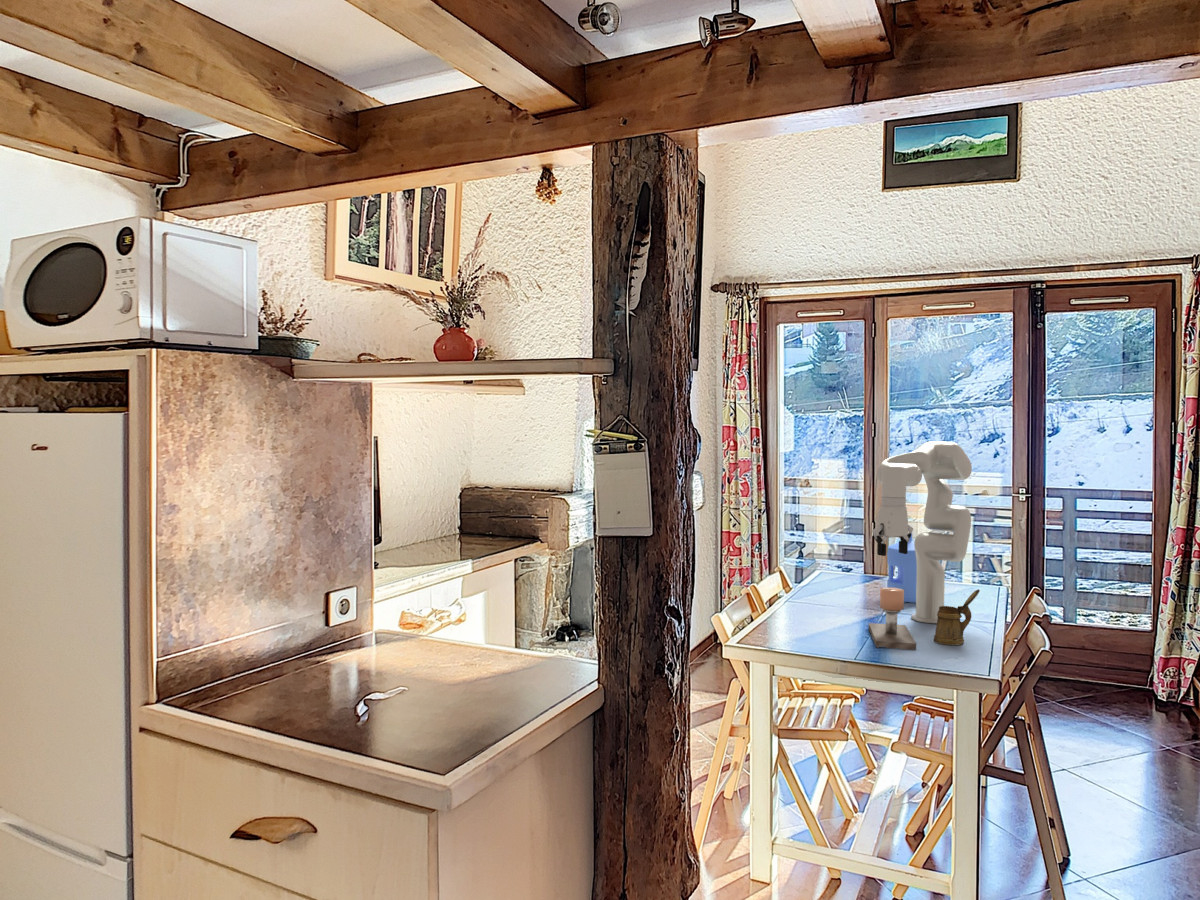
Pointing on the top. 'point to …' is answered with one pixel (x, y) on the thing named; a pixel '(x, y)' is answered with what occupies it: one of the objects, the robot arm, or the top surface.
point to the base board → (892, 637)
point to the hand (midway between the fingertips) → (892, 554)
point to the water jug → (903, 570)
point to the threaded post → (891, 621)
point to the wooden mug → (953, 622)
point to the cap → (892, 598)
